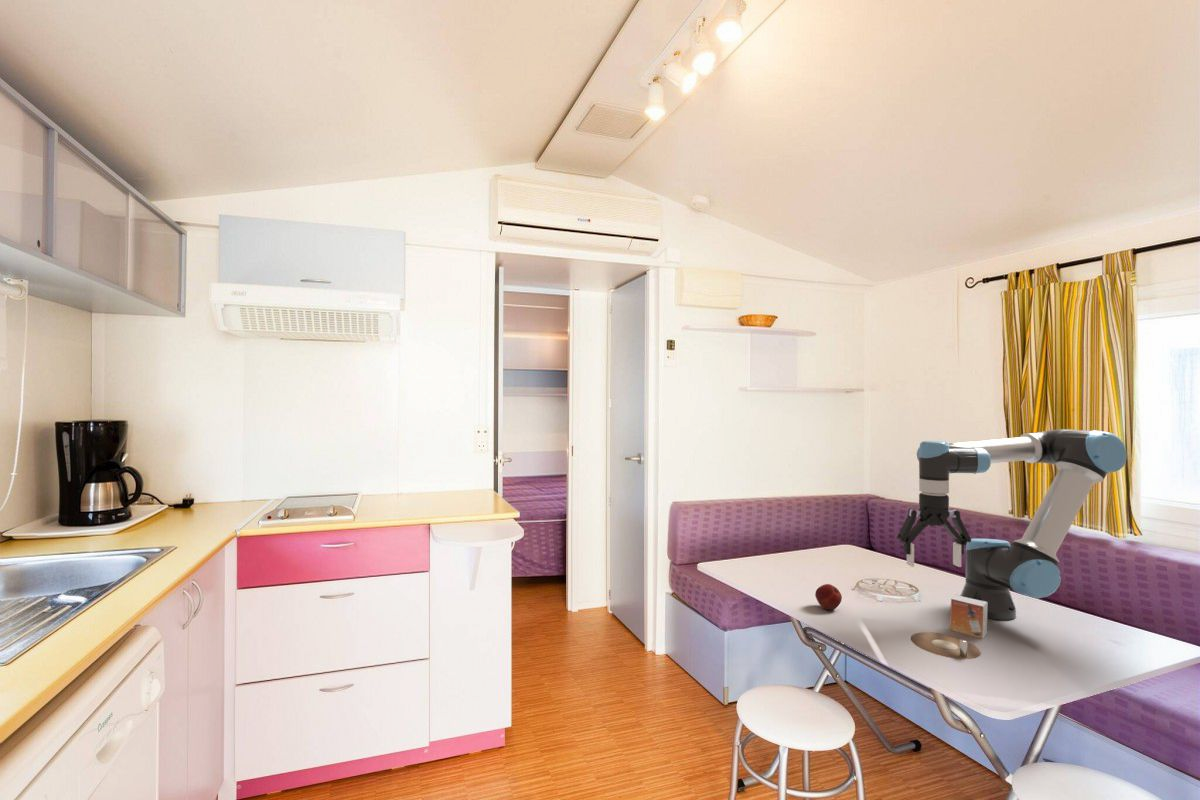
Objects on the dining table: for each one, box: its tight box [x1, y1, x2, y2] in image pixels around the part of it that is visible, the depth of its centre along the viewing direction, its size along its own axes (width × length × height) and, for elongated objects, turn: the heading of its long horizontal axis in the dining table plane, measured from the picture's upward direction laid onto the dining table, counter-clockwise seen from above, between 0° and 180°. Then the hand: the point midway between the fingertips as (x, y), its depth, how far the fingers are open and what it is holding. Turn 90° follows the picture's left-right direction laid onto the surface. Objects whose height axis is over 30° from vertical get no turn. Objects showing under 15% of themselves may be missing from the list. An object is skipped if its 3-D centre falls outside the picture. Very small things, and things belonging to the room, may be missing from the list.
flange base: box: [910, 631, 982, 660], centre depth 148 cm, size 16×16×2 cm
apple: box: [814, 583, 843, 611], centre depth 176 cm, size 7×8×8 cm
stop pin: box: [960, 638, 968, 658], centre depth 141 cm, size 2×2×4 cm
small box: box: [949, 594, 988, 639], centre depth 157 cm, size 8×6×10 cm
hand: (933, 565), depth 161 cm, fingers open, 13 cm apart
